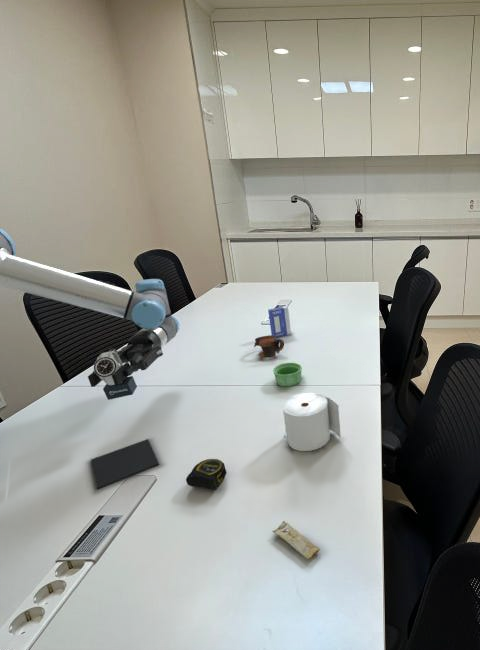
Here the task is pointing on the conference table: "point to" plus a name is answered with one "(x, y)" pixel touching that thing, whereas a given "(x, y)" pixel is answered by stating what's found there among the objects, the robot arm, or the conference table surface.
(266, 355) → the pottery mug
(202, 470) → the tape measure
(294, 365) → the ramekin
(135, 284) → the robot arm
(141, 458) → the dark mat
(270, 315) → the walkman
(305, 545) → the snack bar
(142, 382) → the conference table surface
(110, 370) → the watch
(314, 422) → the toilet tissue
